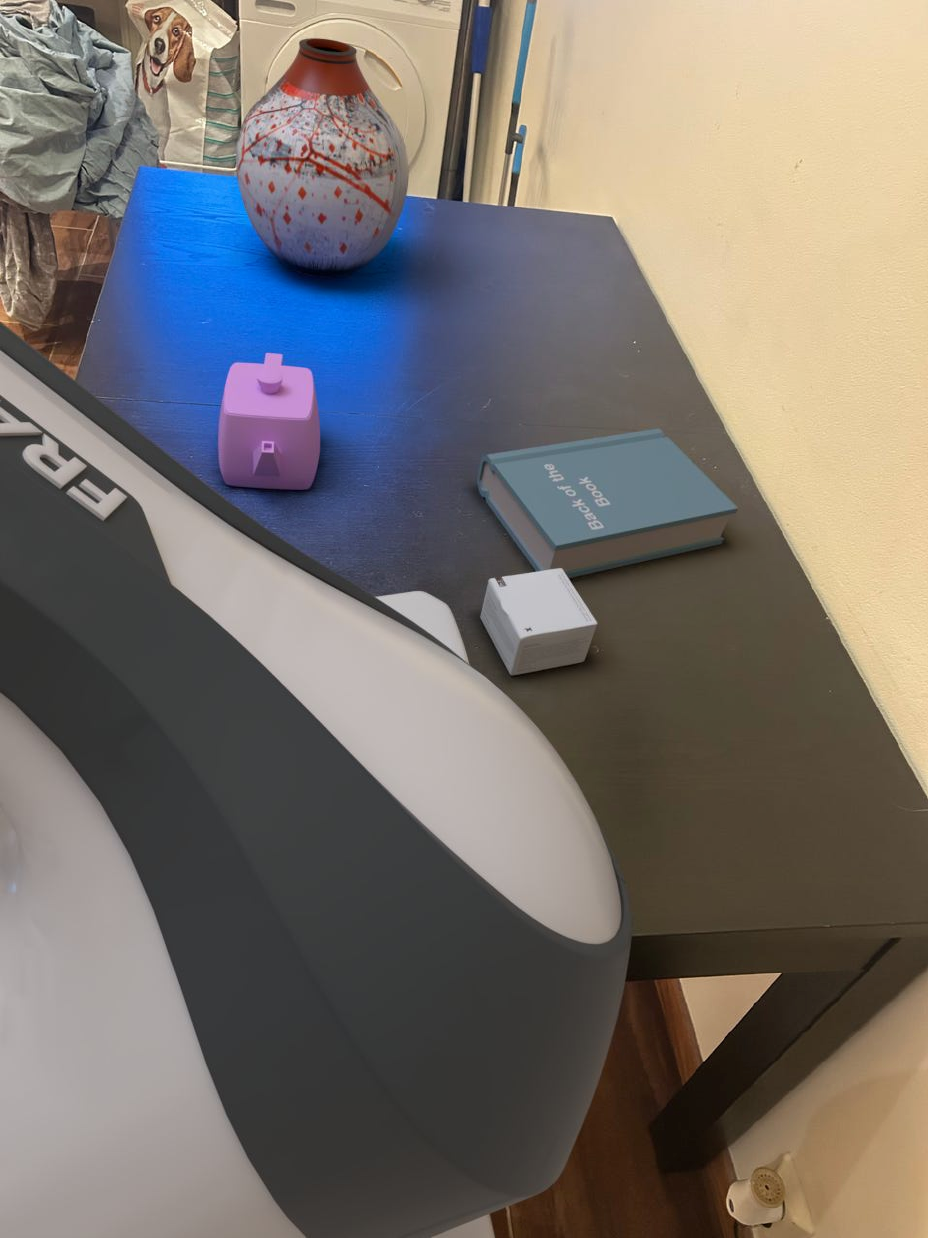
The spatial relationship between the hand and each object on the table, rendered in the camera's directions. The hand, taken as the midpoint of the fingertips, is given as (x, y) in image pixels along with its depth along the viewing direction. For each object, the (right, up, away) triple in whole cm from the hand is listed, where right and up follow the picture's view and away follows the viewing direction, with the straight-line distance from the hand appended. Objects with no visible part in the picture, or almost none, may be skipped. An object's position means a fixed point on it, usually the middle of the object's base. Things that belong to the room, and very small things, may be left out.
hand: (176, 570), depth 37 cm
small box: (+18, -4, +45) cm, 49 cm away
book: (+27, +9, +60) cm, 67 cm away
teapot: (-9, +15, +59) cm, 61 cm away
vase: (-9, +50, +94) cm, 107 cm away
